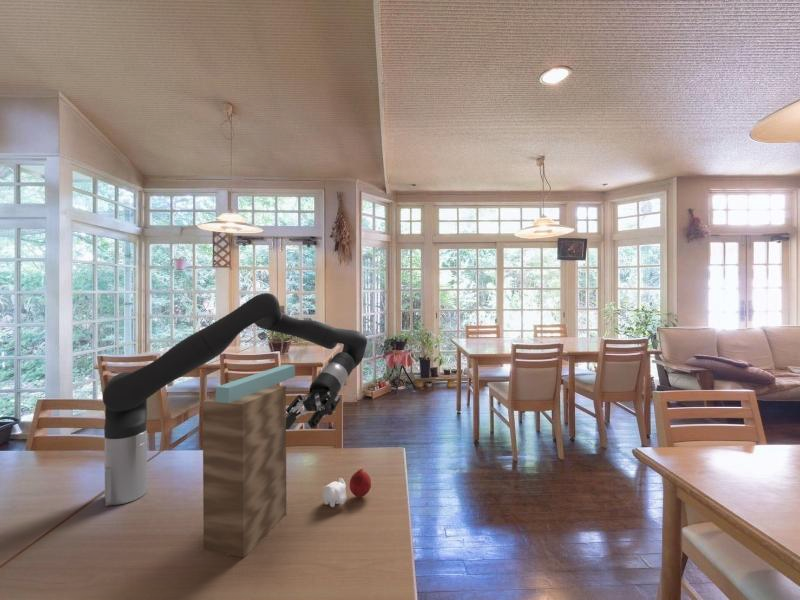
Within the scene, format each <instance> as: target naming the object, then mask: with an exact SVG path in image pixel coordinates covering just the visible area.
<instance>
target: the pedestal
mask: <svg viewBox="0 0 800 600" xmlns="http://www.w3.org/2000/svg"><path fill="white" fill-rule="evenodd" d="M286 409H287V386H286V385H278V384H275V385H273V386H270V387H268V388H265V389H263V390H260V391H258V392H255V393H253V394H250V395H248V396H245V397H243V398H240V399H238V400H235V401H233V402H231V403H221V402H216V395H215V396H212V397H210V398H207V399H204V400H202V485H203V487H202V493H203V495H202V496H203V497H202V501H203V502H202V503H203V504H202V507H203V509H202V510H203V511H202V512H203V515H202V516H203V523H202V524H203V525H202V526H203V527H202V529H203V551H207V550H208V551H207V552H213V553H217V554H221V553H223V554H222V555H226V554H229V555H228V556H231V555H232V556H231V557H236V556H238V557H237V558H240V557H243V558H242V559H245V557H246V556H247V555H248V554H249V553H250V552H251V551H252V550H253V549H254V548H255V547H256V546H257V545H258V544H259V543H260V542H261V541H262V540H263V539H264V538H265V537H266V536H267V535H268V534H269V533H270V532H271V530H272V529H274V528H275V526H276V525H277V524H278V523H279V522H280V521H281V520H282V519H283V518H284V517H285V516H286V515H287V429H286V418H287V411H286Z"/></svg>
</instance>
